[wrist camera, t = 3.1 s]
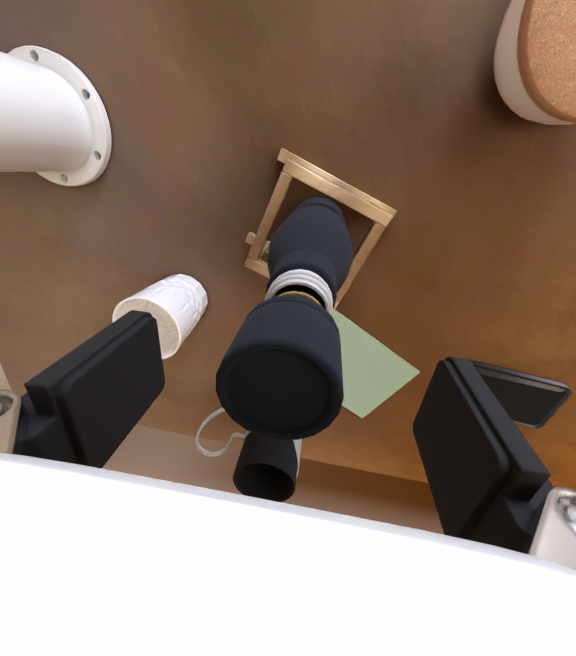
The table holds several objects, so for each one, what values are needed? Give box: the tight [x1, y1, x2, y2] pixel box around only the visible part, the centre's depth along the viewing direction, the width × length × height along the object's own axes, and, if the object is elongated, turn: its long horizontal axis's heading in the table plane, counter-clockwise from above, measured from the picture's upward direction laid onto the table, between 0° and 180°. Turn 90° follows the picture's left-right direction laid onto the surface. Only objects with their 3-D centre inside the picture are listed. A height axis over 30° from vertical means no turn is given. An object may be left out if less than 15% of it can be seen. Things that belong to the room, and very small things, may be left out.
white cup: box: [112, 274, 208, 359], centre depth 37 cm, size 8×8×10 cm
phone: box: [469, 360, 572, 428], centre depth 42 cm, size 8×1×15 cm
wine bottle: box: [216, 196, 353, 440], centre depth 22 cm, size 6×6×30 cm
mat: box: [332, 310, 420, 418], centre depth 43 cm, size 20×12×1 cm, turn 54°
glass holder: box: [195, 407, 302, 502], centre depth 41 cm, size 9×14×15 cm, turn 71°
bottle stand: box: [244, 148, 397, 310], centre depth 31 cm, size 14×11×9 cm
